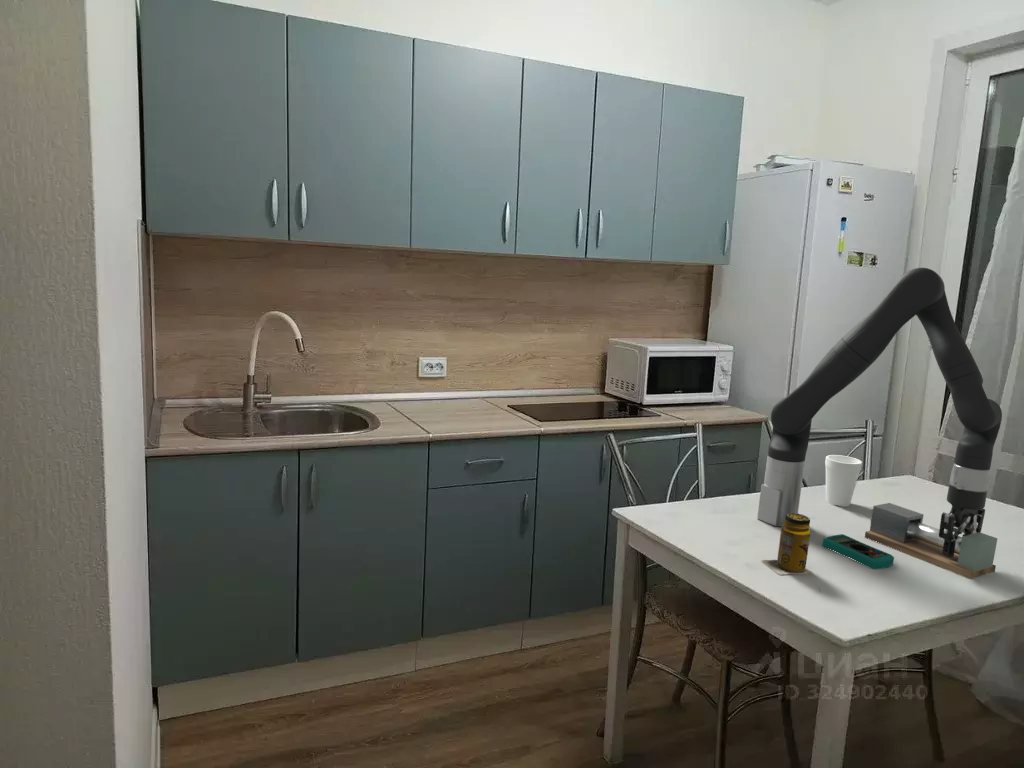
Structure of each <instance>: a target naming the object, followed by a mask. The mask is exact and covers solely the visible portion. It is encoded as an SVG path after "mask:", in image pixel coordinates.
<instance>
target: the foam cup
mask: <svg viewBox="0 0 1024 768" xmlns="http://www.w3.org/2000/svg"><path fill="white" fill-rule="evenodd" d="M824 465H825V501H827V502H826V503H828V504H829V503H830V505H832V504H833V506H836V505H838V506H837V507H849V506H850V504H851V502H852V500H853V499H852V498H853V495H854V491H855V489H856V484H857V482H858V480H859V479H858V478H859V475H860V471H862V465H863V461H862V460H860V459H858V458H855V457H852V456H848V455H840V454H829V455H827V456H825V461H824Z"/></svg>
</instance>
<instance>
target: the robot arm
mask: <svg viewBox="0 0 1024 768" xmlns="http://www.w3.org/2000/svg"><path fill="white" fill-rule="evenodd" d="M945 289H946V288H945V283H944V280H943V278H942V277H941V276H940V275H939V274H938V273H937V272H936V271H935V270H933V269H930V268H928V267H915V268H912V269H910V270H908V271H907V272H905V273H904V274H903V275H902V276H901V277H900V278H899V279H898V280H897V282H896V283H894V286H892V288H891V289H890V290H889V292H888V293H887V294H886V296H885V297H883V299H882V300H881V301H880V302H879V304H878V305H877V306H876V307H875V308H874V309H873V310H872V311H870V312H869V313H868V314H867V315H866V316H865V317H863V318H862V319H861V320H860V321H858V322H857V324H855V326H853V327H852V328H851V329H850V330H849V331H848V332H847V333H845V335H843V336H842V337H841V338H840V339H839V341H837V342H836V343H835V345H833V347H831V349H829V351H828V352H827V353H826V354H825V356H823V357H822V358H821V360H820V361H819V362H818V364H817V365H816V366H815V367H814V369H813V370H812V371H811V373H810V374H809V375H808V377H806V379H805V380H804V381H803V382H802V383H801V384H800V385H799V386H797V387H796V388H795V389H794V390H793V391H792V392H791V393H789V394H787V396H785V397H782V398H781V399H780V400H779V401H777V403H775V404H774V405H773V407H772V409H771V412H770V421H771V425H772V431H771V438H770V441H769V444H768V449H767V458H766V465H765V473H764V482H763V483H762V484H761V486H760V494H759V502H758V510H757V518H756V519H758V520H761V522H764V523H767V524H770V525H772V526H774V527H782V526H783V525H784V520H785V516H786V514H788V513H797V514H799V508H800V500H801V494H802V493H801V491H802V487H803V478H804V472H805V463H806V462H805V461H806V456H807V452H808V447H809V443H810V442H809V441H810V435H811V434H810V433H811V428H812V420H813V418H814V417H815V415H816V414H817V413H818V412H819V411H820V410H821V409H822V408H823V406H825V405H826V404H827V403H828V402H829V401H830V400H831V399H833V397H835V396H836V395H837V394H839V393H840V392H841V391H843V390H844V389H845V388H847V387H848V386H849V385H851V384H852V383H853V382H854V381H855V380H856V379H857V378H859V377H860V376H861V375H862V374H863V373H864V372H865V371H867V369H868V368H870V366H871V365H872V364H873V363H875V361H876V360H877V359H878V358H879V357H880V356H881V355H882V353H884V351H885V350H886V348H887V347H888V346H889V345H890V343H891V342H892V340H893V338H894V337H895V336H896V335H897V333H898V332H899V331H900V330H901V328H903V326H905V325H906V324H907V323H908V322H909V321H910V320H911V319H913V318H914V317H915V316H916V317H917V319H918V320H919V322H920V323H921V326H922V327H923V329H924V331H925V334H926V335H927V337H928V340H929V343H930V346H931V350H932V351H933V355H934V358H935V360H936V363H937V365H938V368H939V371H940V372H941V374H942V377H943V378H944V381H945V383H946V385H947V387H948V389H949V391H950V395H951V399H952V403H953V406H954V410H955V413H956V416H957V418H958V420H959V421H960V423H961V424H962V426H963V432H962V436H961V438H960V440H959V441H958V443H957V445H956V450H955V455H954V461H953V465H952V468H951V472H950V476H949V477H950V478H949V481H948V482H949V483H948V489H947V495H946V502H948V503H949V504H950V505H951V508H950V511H949V513H946V512H942V513H941V516H940V524H939V528H938V529H939V537H941V538H943V539H944V545H943V551H942V554H943V555H945V556H948V557H953V556H954V550H955V544H956V542H955V541H956V539H957V537H958V536H959V535H962V536H966V535H970V534H974V533H978V532H980V533H982V529H983V523H984V518H985V514H986V508H985V507H986V501H987V495H988V489H989V485H990V480H991V479H990V478H991V477H990V474H991V466H992V459H993V453H994V452H993V451H994V447H995V443H996V440H997V438H998V435H999V431H1000V429H1001V428H1000V427H1001V425H1002V420H1003V411H1002V408H1001V407H1000V405H999V404H998V402H996V401H994V400H993V399H990V398H988V397H987V394H986V393H985V392H986V391H985V390H984V387H983V384H984V383H983V382H984V380H983V376H982V373H981V371H980V369H979V366H978V365H977V362H976V360H975V359H974V357H973V354H972V353H971V350H970V348H969V347H968V345H967V343H966V341H965V339H964V338H963V335H962V334H961V332H960V330H959V328H958V326H957V324H956V322H955V320H954V317H953V315H952V312H951V309H950V306H949V302H948V297H947V295H946V291H945ZM944 531H945V532H944ZM953 534H954V535H953Z"/></svg>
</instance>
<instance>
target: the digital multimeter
mask: <svg viewBox="0 0 1024 768" xmlns="http://www.w3.org/2000/svg"><path fill="white" fill-rule="evenodd" d="M821 546H822V547H823V546H824V548H825V547H826V548H825V549H827V548H829V549H828V550H830V549H831V550H830V551H832V550H834V551H836V552H835V553H837V552H838V553H837V554H839V553H840V554H839V555H841V554H842V555H841V556H843V555H845V556H844V557H846V556H847V557H846V558H848V557H850V558H852V559H854V560H856V561H855V562H857V561H858V562H857V563H859V562H860V563H859V564H861V563H862V564H861V565H863V564H864V566H865V565H866V567H867V566H868V567H867V568H869V567H870V569H871V568H872V569H871V570H878V569H886V568H889V567H891V566H893V565H894V561H895V557H894V556H893V555H892V554H890V553H889V552H886V551H883V550H880V549H878V548H875V547H874V546H870V545H868V544H866V543H864V542H862V541H859V540H857V539H855V538H852V537H850V536H848V535H846V534H834V535H830V536H826V537H824V538H823V539H822V545H821ZM834 551H833V552H834ZM850 558H849V559H850ZM852 559H851V560H852ZM854 560H853V561H854Z"/></svg>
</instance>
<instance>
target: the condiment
mask: <svg viewBox="0 0 1024 768" xmlns="http://www.w3.org/2000/svg"><path fill="white" fill-rule="evenodd" d="M810 522H811V519H810V517H808V516H807V515H804V514H800V513H798V514H797V513H788V514H786V516H785V520H784V525H783V526H781V528H780V537H779V544H778V550H777V551H778V552H777V559H761V562H763V564H764V565H766V566H767V567H768V568H769V569H770V570H772V571H774V572H775V573H777V574H778V575H779V576H781V575H808V574H809V575H810V574H814V572H813V571H812V570H810V569H809V568H807V567H806V566H807V559H808V554H809V547H810V546H809V545H810V537H811V530H810V528H811V527H810V525H811V523H810Z"/></svg>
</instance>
